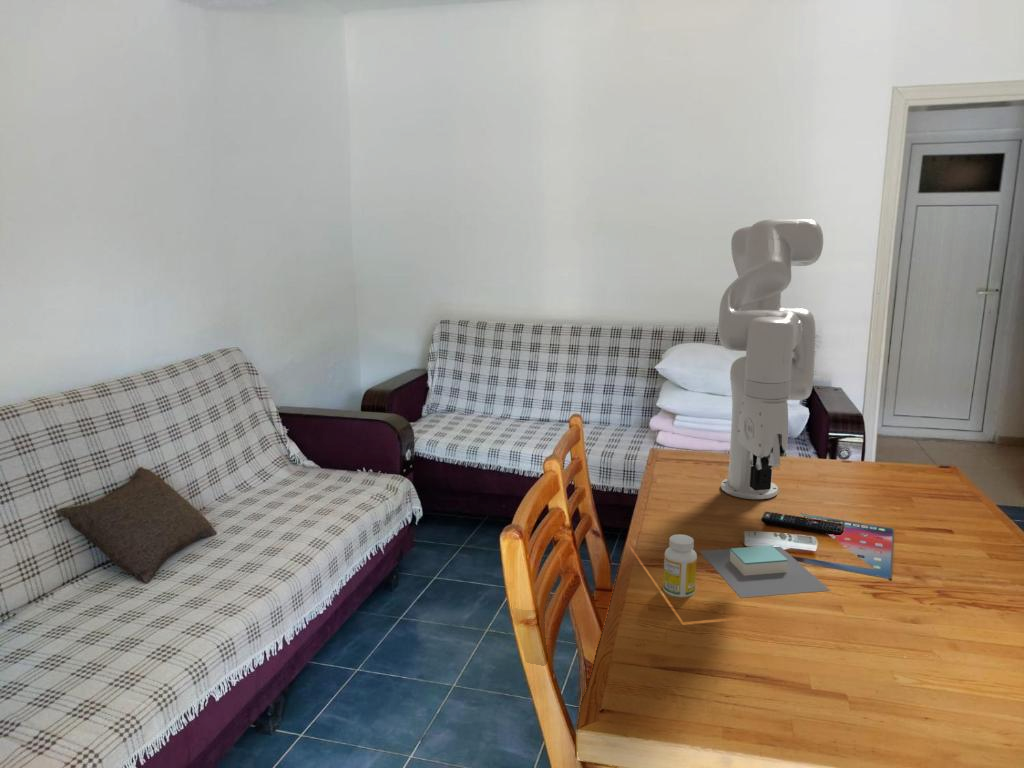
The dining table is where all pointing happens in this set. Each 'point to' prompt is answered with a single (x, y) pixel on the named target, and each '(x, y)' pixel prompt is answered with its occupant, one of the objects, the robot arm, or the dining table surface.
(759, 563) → the tile
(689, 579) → the supplement bottle
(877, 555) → the tablet
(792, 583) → the mat
